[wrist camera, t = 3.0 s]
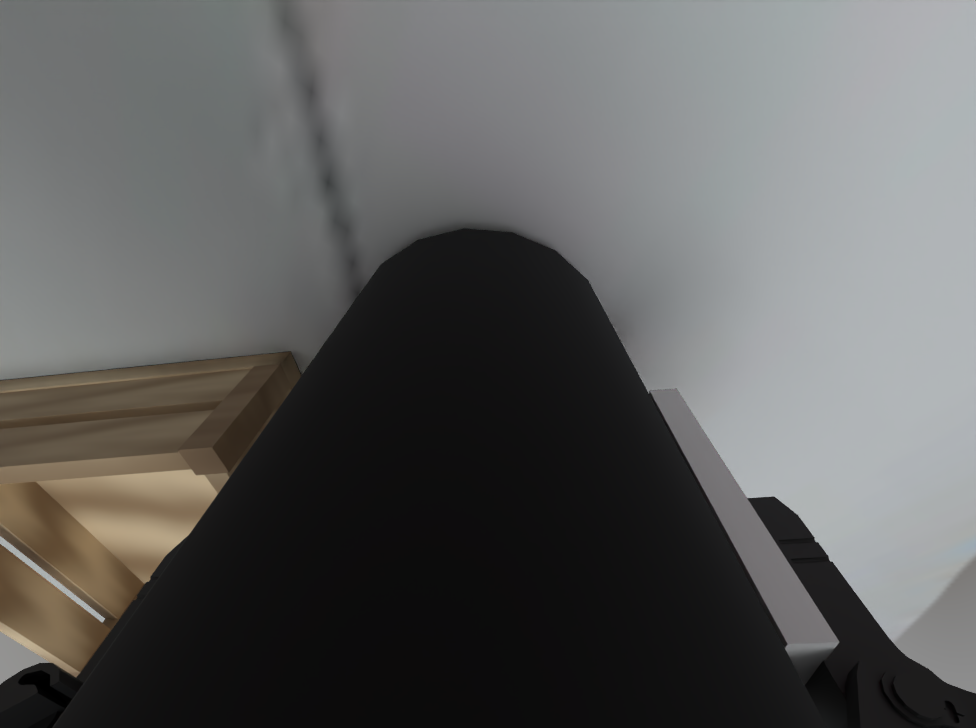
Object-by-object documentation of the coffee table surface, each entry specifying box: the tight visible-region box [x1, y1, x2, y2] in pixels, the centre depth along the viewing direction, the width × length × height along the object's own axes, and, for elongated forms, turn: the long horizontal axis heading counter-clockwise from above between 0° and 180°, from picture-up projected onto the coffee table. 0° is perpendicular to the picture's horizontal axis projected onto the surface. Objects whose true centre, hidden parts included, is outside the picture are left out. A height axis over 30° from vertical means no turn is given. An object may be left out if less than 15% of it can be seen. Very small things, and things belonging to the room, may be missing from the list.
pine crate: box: [0, 352, 301, 677], centre depth 21 cm, size 17×17×6 cm
